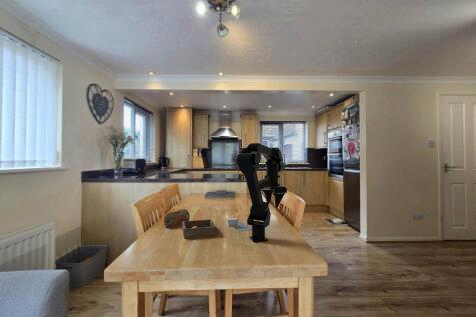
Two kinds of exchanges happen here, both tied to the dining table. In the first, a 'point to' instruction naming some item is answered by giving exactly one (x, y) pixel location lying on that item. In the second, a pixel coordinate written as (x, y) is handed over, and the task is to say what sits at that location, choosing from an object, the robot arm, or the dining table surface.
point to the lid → (237, 224)
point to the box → (199, 228)
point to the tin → (176, 218)
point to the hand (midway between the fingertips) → (272, 205)
